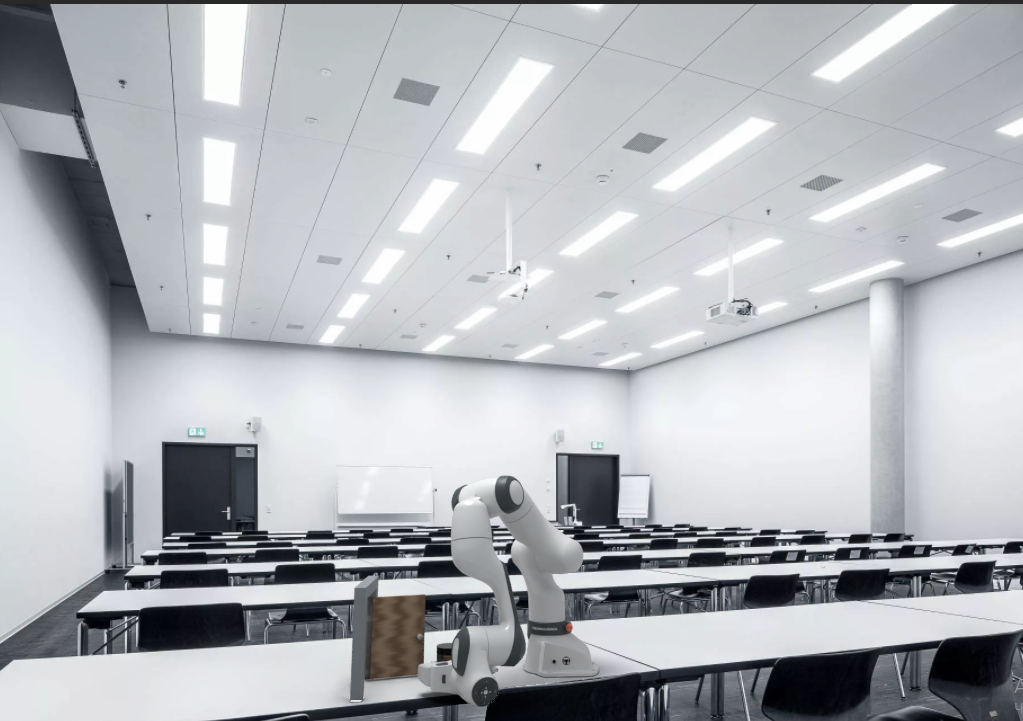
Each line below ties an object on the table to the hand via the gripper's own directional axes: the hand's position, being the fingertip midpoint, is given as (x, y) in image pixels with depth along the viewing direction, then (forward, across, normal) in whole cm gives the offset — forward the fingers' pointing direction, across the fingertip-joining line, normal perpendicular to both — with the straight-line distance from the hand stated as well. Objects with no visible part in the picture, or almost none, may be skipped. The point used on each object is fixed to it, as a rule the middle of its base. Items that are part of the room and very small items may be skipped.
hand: (447, 662), depth 190 cm
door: (+12, +12, +5) cm, 17 cm away
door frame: (+6, +22, +6) cm, 23 cm away
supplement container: (-1, 0, +6) cm, 6 cm away
